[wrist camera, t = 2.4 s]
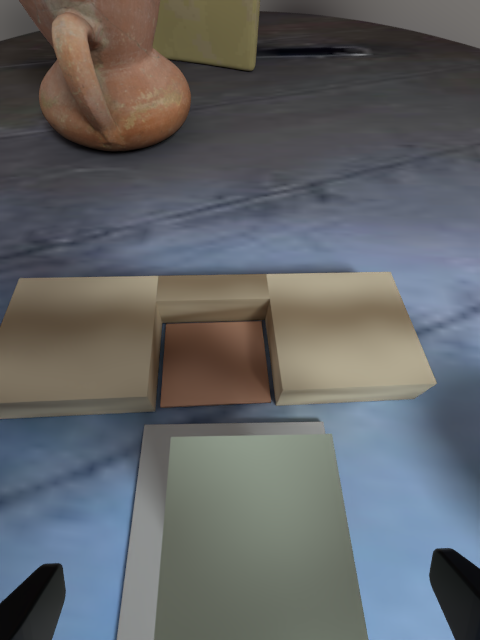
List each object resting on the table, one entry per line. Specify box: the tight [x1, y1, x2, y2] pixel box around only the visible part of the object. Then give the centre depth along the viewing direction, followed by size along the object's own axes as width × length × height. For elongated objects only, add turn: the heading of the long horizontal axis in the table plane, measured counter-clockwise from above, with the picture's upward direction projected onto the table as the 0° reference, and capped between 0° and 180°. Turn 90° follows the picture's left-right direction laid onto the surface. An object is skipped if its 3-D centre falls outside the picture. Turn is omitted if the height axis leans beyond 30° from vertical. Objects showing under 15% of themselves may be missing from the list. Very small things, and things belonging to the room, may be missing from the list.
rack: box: [0, 272, 437, 419], centre depth 20 cm, size 8×24×2 cm, turn 94°
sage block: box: [154, 434, 368, 640], centre depth 11 cm, size 4×4×10 cm
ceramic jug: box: [19, 0, 191, 151], centre depth 29 cm, size 18×14×14 cm
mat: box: [117, 422, 325, 640], centre depth 15 cm, size 10×10×1 cm
